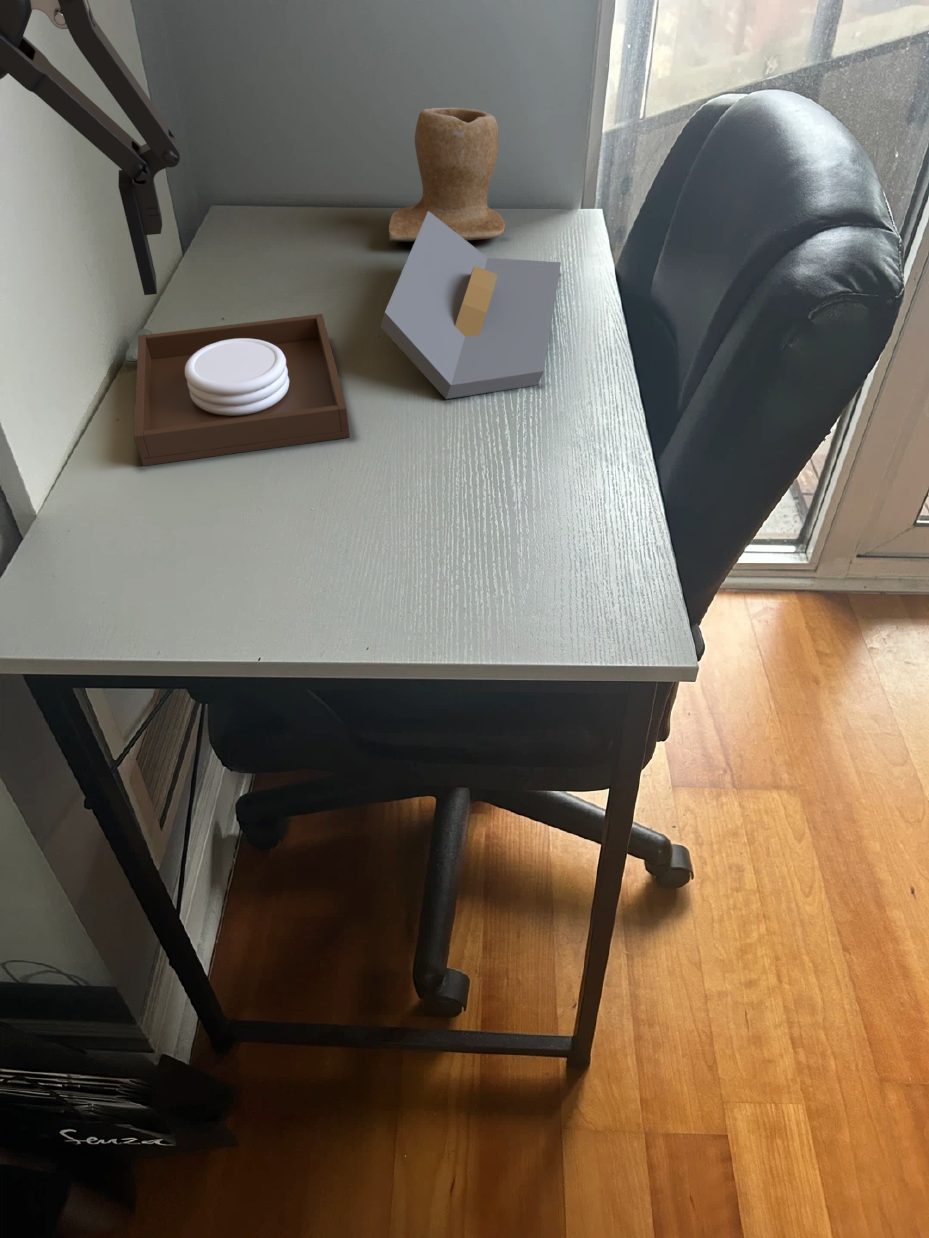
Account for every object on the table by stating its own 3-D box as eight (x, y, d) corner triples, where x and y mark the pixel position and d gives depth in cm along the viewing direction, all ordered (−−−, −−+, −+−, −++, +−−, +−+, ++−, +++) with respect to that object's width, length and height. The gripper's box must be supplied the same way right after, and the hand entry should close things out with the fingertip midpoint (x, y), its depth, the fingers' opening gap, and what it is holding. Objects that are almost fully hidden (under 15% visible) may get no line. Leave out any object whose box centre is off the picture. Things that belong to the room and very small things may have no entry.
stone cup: (500, 214, 130) (501, 94, 119) (507, 250, 121) (509, 124, 111) (390, 217, 129) (382, 97, 119) (389, 254, 121) (380, 128, 110)
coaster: (174, 411, 94) (165, 380, 91) (216, 362, 100) (209, 331, 98) (268, 423, 92) (262, 392, 89) (304, 372, 99) (299, 341, 96)
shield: (523, 429, 97) (546, 296, 118) (542, 386, 93) (563, 257, 114) (365, 371, 95) (417, 246, 116) (378, 325, 91) (429, 205, 112)
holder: (143, 466, 88) (133, 436, 86) (145, 363, 102) (138, 335, 100) (350, 437, 91) (346, 408, 89) (325, 341, 105) (322, 313, 103)
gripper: (169, -157, 48) (236, 252, 63) (-382, -148, 44) (-171, 292, 58) (174, -141, 43) (246, 301, 58) (-451, -128, 38) (-200, 349, 53)
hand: (37, 297), depth 58 cm, fingers open, 13 cm apart
